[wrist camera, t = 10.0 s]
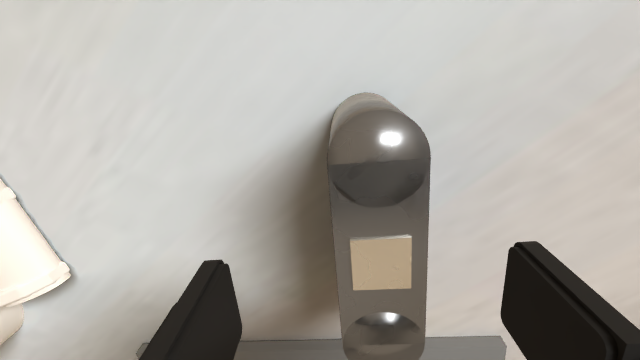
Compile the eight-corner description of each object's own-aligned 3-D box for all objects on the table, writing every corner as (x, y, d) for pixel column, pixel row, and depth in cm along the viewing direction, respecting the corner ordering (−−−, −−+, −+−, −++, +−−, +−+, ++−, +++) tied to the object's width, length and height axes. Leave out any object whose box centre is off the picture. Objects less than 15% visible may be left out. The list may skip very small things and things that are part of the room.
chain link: (398, 89, 16) (433, 105, 10) (399, 283, 19) (424, 376, 14) (328, 95, 16) (322, 114, 10) (343, 285, 20) (345, 376, 14)
